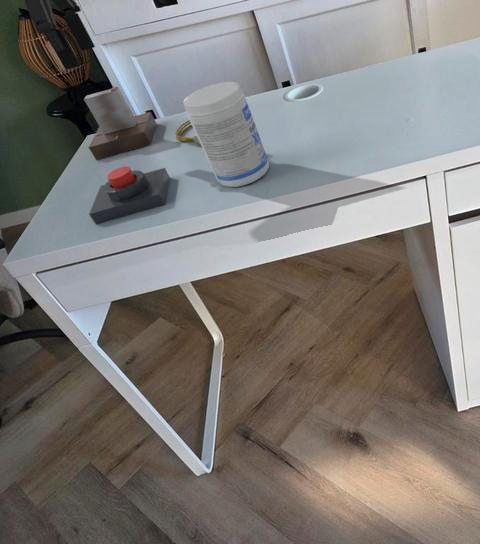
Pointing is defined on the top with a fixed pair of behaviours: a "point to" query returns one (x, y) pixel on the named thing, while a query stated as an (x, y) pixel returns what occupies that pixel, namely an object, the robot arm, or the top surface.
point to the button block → (131, 196)
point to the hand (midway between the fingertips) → (81, 57)
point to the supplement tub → (227, 133)
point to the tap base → (124, 138)
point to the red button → (121, 177)
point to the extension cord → (194, 139)
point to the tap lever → (110, 110)
